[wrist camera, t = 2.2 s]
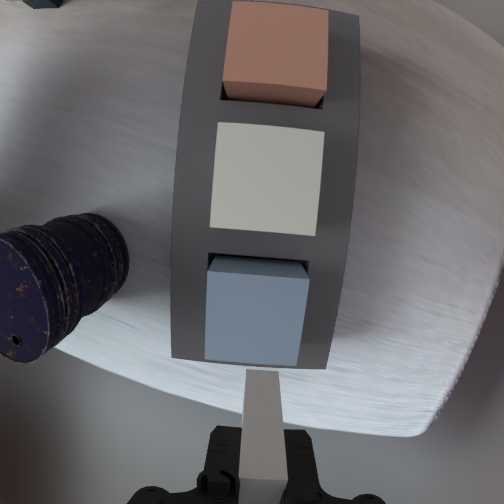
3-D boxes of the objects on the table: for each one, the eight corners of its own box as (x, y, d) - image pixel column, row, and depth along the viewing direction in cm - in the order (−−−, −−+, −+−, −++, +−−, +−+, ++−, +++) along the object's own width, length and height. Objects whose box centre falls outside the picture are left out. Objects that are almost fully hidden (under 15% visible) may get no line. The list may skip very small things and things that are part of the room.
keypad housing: (184, 329, 33) (171, 357, 27) (207, 28, 26) (197, 0, 20) (314, 339, 33) (325, 369, 27) (342, 41, 26) (359, 16, 20)
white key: (218, 219, 26) (209, 227, 21) (225, 134, 24) (218, 122, 19) (303, 226, 26) (315, 236, 21) (311, 141, 24) (324, 132, 19)
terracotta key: (228, 99, 24) (222, 80, 19) (236, 29, 22) (232, 0, 17) (313, 107, 24) (326, 90, 19) (316, 37, 22) (328, 10, 17)
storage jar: (46, 226, 30) (-48, 253, 16) (114, 199, 30) (19, 215, 15) (73, 306, 32) (-5, 367, 18) (142, 290, 32) (72, 362, 17)
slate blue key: (212, 330, 28) (204, 359, 23) (216, 255, 26) (207, 271, 21) (290, 336, 28) (296, 365, 23) (299, 261, 26) (309, 279, 21)
